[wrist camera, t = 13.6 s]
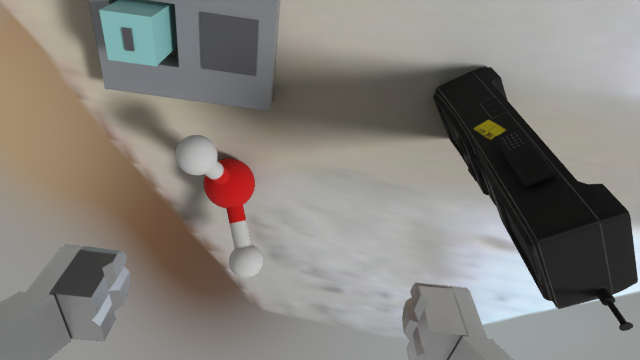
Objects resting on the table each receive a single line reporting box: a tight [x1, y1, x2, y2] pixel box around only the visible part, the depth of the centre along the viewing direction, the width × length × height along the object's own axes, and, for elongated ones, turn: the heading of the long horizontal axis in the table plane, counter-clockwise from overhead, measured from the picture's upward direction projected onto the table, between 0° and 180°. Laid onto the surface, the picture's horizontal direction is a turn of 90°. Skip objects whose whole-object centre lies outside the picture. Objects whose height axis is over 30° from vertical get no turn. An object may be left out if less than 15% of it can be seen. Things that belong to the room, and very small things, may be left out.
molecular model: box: [176, 135, 263, 278], centre depth 43 cm, size 18×6×10 cm, turn 12°
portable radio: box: [433, 67, 638, 331], centre depth 31 cm, size 8×6×25 cm
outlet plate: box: [89, 0, 280, 111], centre depth 36 cm, size 14×16×3 cm
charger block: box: [99, 0, 178, 66], centre depth 35 cm, size 4×4×6 cm
